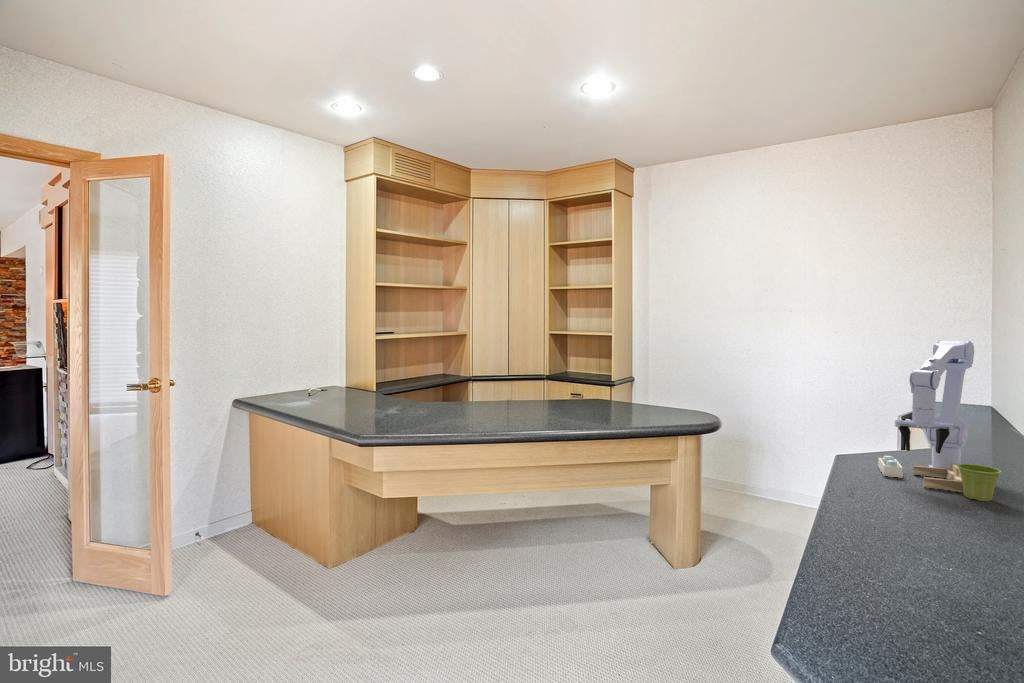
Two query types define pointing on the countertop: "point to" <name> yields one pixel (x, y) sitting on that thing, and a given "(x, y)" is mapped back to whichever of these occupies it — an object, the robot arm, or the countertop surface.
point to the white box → (890, 467)
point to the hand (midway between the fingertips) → (922, 451)
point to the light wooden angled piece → (951, 474)
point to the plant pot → (978, 481)
